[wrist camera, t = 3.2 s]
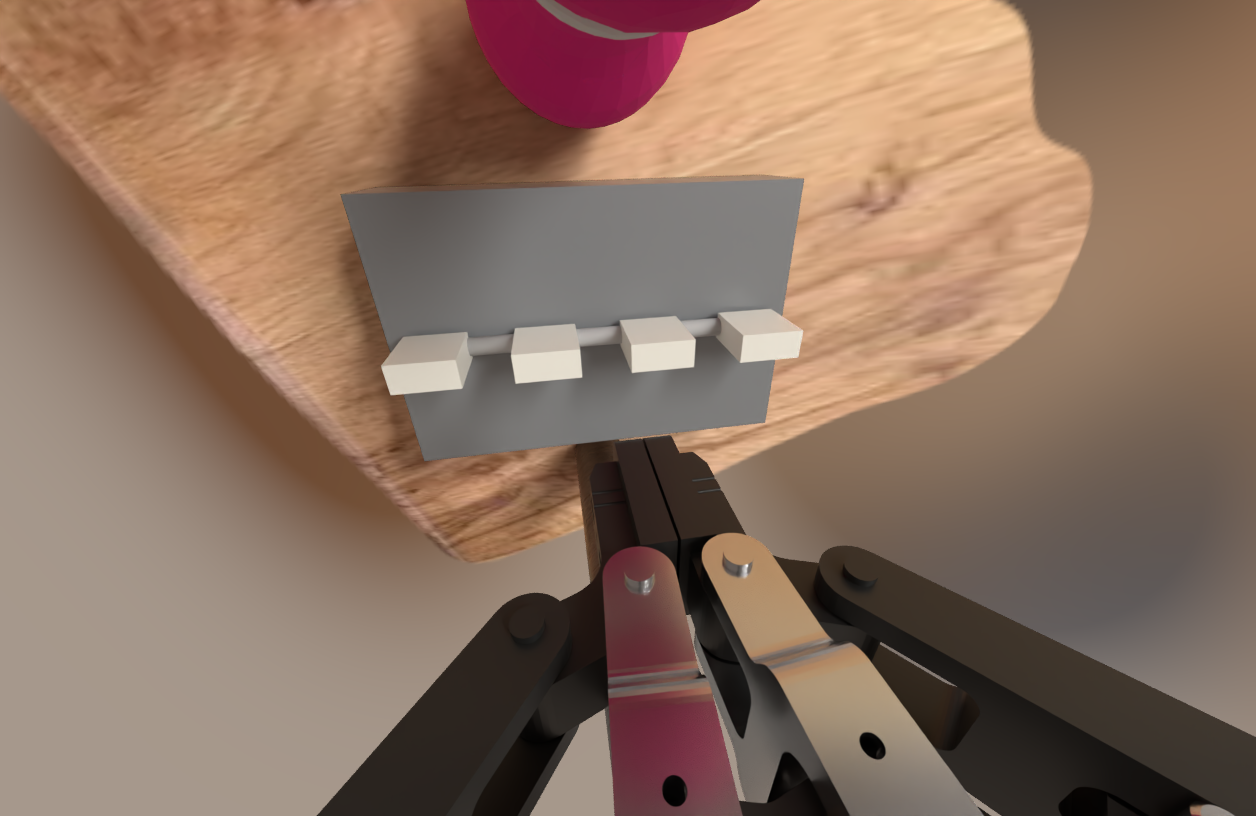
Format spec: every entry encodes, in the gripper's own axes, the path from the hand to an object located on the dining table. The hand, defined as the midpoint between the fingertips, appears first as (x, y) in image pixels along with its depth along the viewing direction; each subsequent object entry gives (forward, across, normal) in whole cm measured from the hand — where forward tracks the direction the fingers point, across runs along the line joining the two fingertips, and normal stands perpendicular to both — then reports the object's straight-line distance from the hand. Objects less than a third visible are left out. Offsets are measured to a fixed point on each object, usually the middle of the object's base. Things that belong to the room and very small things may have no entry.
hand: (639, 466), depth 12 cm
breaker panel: (+14, 0, 0) cm, 14 cm away
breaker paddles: (+10, 0, 0) cm, 10 cm away
